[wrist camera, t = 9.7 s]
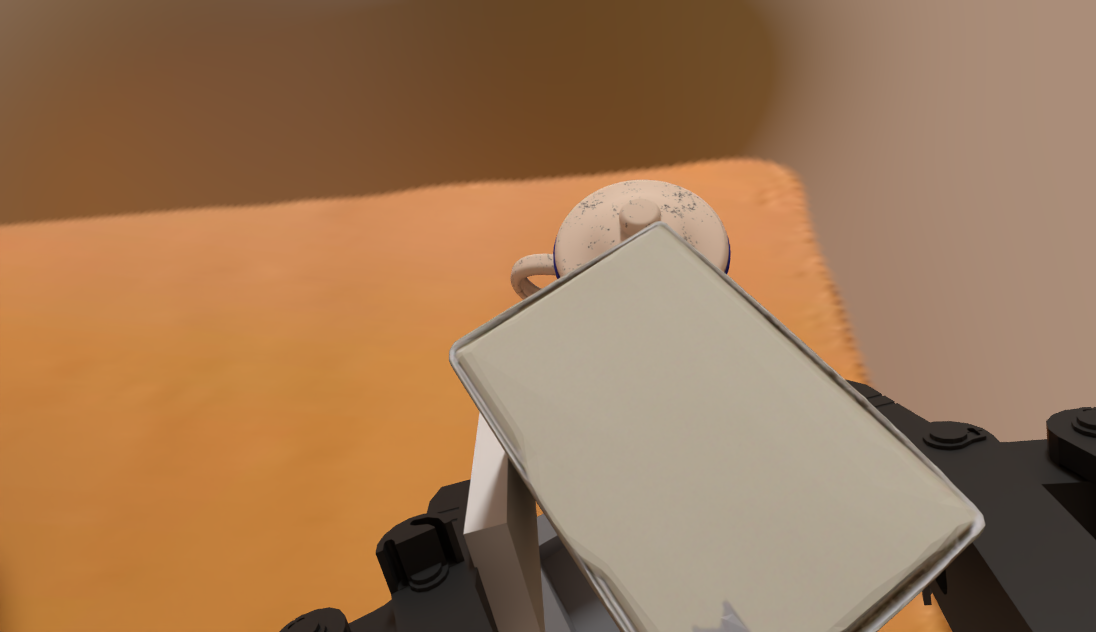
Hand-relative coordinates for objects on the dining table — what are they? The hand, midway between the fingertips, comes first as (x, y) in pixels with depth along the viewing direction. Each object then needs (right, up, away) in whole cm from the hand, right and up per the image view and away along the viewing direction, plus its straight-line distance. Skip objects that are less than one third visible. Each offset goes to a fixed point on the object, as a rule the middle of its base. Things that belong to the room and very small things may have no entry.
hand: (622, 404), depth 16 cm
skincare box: (+1, -5, +2) cm, 6 cm away
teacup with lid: (+2, +2, +22) cm, 22 cm away
